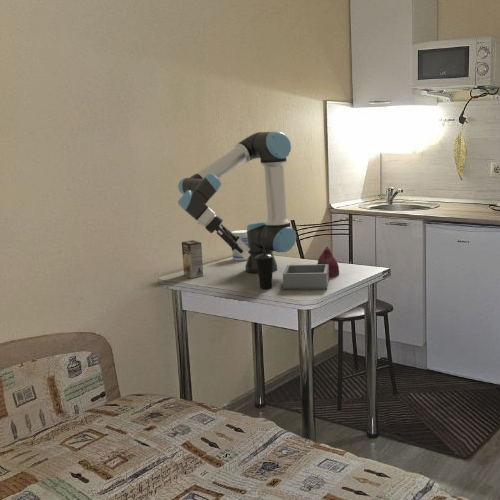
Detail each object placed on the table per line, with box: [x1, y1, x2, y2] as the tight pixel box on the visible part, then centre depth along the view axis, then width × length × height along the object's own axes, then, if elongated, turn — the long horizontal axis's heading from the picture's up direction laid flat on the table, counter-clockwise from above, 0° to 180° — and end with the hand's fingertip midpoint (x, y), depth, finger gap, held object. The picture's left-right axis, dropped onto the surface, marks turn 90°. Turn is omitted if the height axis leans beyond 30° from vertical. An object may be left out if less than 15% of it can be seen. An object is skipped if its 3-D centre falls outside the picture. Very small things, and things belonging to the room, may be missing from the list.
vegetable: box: [316, 246, 340, 278], centre depth 311 cm, size 10×10×15 cm
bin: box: [282, 263, 330, 291], centre depth 296 cm, size 18×18×7 cm
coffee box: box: [181, 239, 204, 279], centre depth 326 cm, size 9×6×16 cm
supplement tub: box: [231, 229, 248, 262], centre depth 359 cm, size 10×10×15 cm
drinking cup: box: [255, 241, 275, 290], centre depth 294 cm, size 8×8×20 cm
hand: (248, 254), depth 292 cm, fingers open, 13 cm apart
